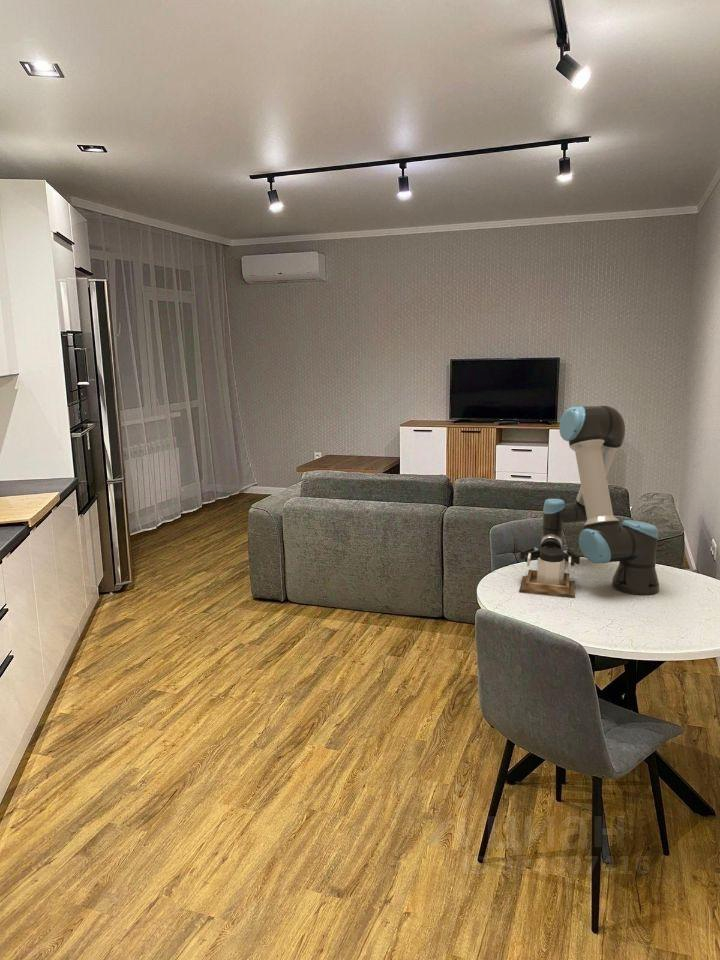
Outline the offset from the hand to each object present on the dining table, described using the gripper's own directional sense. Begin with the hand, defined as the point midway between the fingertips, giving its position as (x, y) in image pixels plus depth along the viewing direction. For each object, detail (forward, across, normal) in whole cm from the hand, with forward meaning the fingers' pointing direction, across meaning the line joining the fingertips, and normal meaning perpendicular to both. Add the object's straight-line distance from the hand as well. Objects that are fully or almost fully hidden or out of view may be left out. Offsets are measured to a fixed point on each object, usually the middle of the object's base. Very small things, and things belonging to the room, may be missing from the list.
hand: (548, 564), depth 241 cm
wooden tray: (-3, 0, -10) cm, 10 cm away
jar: (-4, -1, -9) cm, 9 cm away
